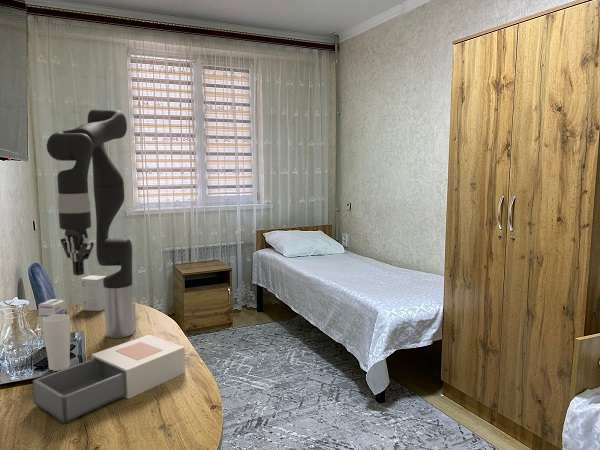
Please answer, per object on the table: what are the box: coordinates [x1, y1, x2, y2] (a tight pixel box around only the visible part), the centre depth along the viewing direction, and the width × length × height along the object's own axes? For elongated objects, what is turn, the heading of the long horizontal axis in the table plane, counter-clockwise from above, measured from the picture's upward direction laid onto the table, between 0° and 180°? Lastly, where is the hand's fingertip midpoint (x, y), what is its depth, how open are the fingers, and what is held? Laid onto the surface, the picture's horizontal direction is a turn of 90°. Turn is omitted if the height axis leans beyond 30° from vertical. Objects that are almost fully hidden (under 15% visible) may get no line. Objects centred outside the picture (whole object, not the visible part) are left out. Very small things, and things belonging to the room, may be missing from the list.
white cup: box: [43, 313, 71, 372], centre depth 129 cm, size 7×7×15 cm
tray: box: [32, 358, 127, 424], centre depth 112 cm, size 18×14×6 cm
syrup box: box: [37, 298, 68, 347], centre depth 145 cm, size 6×6×14 cm
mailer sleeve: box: [91, 334, 186, 399], centre depth 124 cm, size 18×16×8 cm
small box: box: [80, 274, 107, 312], centre depth 183 cm, size 8×6×13 cm
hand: (78, 274), depth 122 cm, fingers closed
